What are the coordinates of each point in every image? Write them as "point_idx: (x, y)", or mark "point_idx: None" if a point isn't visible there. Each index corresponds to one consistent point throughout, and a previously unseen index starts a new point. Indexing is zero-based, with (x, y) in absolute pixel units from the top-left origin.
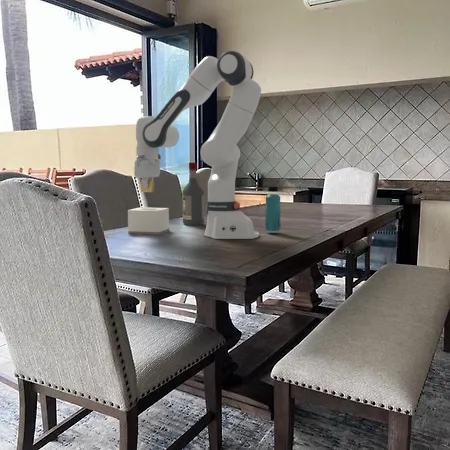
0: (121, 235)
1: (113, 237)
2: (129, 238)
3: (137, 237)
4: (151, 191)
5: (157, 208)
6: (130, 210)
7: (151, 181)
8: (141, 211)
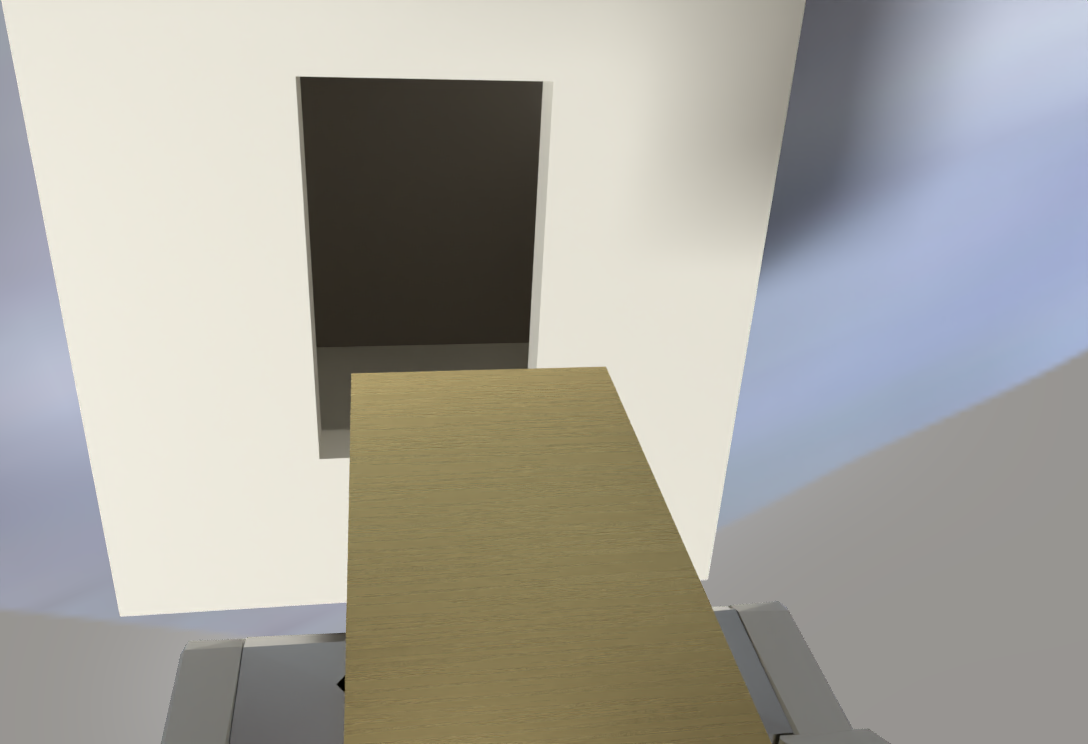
0: (764, 377)
1: (916, 397)
2: (1005, 178)
3: (930, 103)
4: (604, 407)
5: (209, 120)
6: (715, 528)
7: (763, 737)
8: (744, 307)
